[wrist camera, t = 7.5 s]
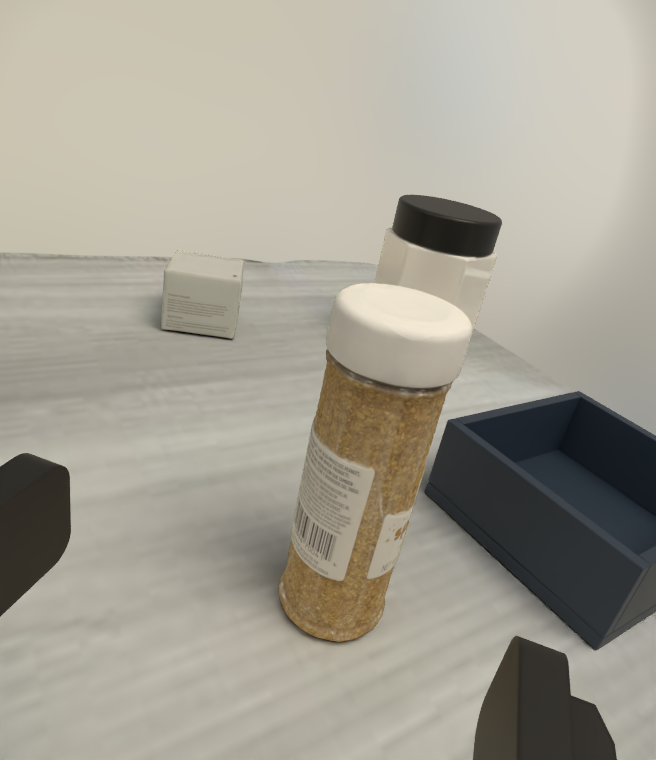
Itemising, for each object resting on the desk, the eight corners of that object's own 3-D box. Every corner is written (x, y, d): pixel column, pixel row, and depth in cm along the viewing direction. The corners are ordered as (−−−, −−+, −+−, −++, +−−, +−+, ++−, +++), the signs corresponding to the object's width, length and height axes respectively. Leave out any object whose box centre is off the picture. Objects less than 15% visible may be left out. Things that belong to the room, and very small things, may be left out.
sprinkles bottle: (399, 636, 24) (504, 335, 18) (292, 655, 22) (368, 330, 16) (358, 554, 28) (434, 282, 22) (264, 565, 26) (317, 273, 20)
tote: (595, 651, 25) (643, 569, 23) (423, 492, 33) (447, 419, 31) (720, 569, 32) (766, 499, 30) (552, 452, 40) (579, 390, 37)
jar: (465, 344, 54) (507, 212, 49) (461, 380, 47) (510, 231, 42) (370, 319, 56) (401, 188, 50) (353, 350, 48) (386, 202, 43)
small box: (239, 313, 51) (245, 258, 49) (234, 341, 46) (242, 281, 44) (171, 304, 50) (175, 247, 48) (159, 331, 45) (162, 269, 43)
